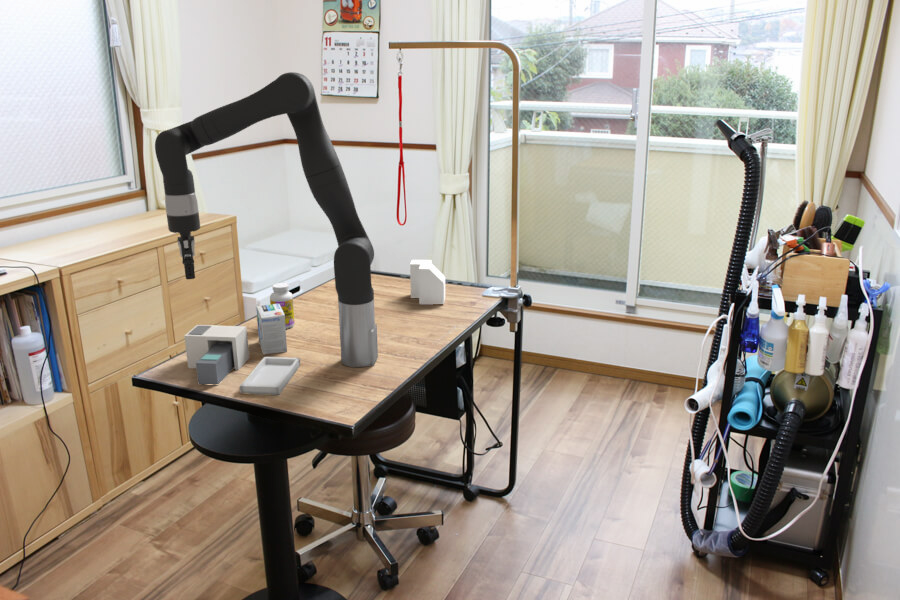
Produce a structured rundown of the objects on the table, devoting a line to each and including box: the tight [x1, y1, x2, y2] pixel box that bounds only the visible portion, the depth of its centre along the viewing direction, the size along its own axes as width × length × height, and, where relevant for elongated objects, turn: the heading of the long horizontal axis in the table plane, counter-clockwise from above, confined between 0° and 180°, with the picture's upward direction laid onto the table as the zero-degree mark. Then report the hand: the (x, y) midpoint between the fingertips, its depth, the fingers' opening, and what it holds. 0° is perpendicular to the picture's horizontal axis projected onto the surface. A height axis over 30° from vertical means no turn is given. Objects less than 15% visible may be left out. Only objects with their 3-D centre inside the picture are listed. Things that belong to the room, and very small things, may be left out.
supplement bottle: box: [269, 282, 295, 330], centre depth 221 cm, size 7×7×13 cm
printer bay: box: [183, 324, 250, 371], centre depth 195 cm, size 14×8×9 cm, turn 85°
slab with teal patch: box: [195, 343, 235, 385], centre depth 189 cm, size 5×13×6 cm, turn 175°
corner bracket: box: [409, 259, 446, 305], centre depth 244 cm, size 11×11×12 cm
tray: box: [239, 356, 301, 396], centre depth 187 cm, size 10×18×2 cm, turn 175°
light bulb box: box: [255, 304, 288, 355], centre depth 206 cm, size 11×7×11 cm, turn 21°
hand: (190, 274), depth 189 cm, fingers open, 8 cm apart
